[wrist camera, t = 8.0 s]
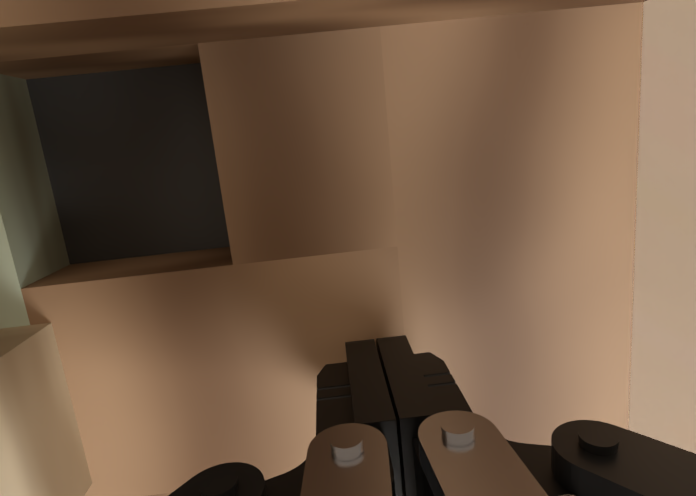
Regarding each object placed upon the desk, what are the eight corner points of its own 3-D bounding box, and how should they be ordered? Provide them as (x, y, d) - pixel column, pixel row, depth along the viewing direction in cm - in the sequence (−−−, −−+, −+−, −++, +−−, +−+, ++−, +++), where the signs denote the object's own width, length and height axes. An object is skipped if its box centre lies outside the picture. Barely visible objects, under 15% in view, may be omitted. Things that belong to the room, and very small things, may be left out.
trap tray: (583, -12, 13) (743, -105, 8) (578, 539, 17) (683, 700, 12) (-180, 58, 12) (-511, 2, 7) (3, 620, 16) (-131, 826, 11)
